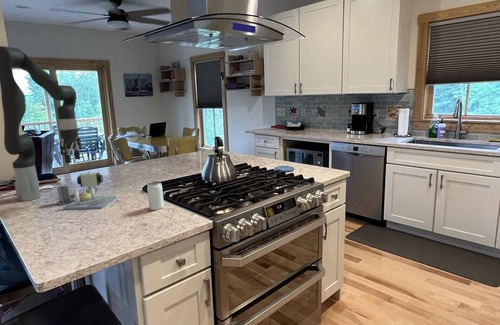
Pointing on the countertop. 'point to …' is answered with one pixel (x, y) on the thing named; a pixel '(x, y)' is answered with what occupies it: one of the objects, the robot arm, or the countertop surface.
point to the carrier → (89, 201)
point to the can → (155, 195)
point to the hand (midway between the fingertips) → (72, 161)
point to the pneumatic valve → (90, 181)
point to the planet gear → (64, 196)
